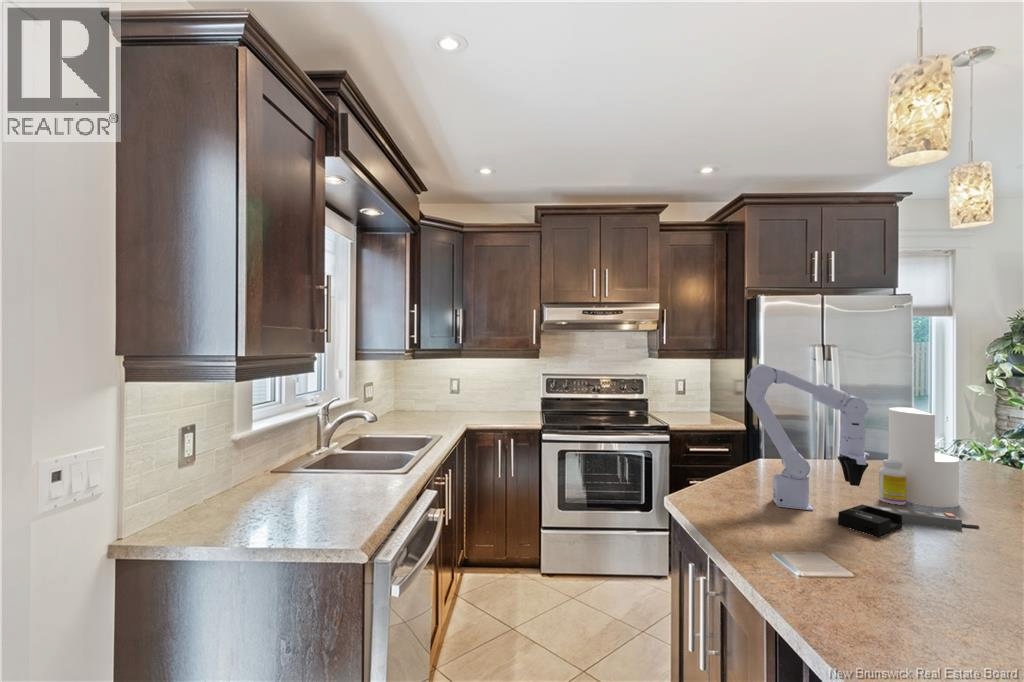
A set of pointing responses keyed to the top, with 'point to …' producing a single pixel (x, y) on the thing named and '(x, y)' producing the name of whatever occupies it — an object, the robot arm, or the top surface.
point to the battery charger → (870, 520)
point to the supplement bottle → (892, 483)
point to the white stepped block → (922, 459)
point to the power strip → (928, 518)
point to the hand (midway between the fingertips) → (852, 483)
